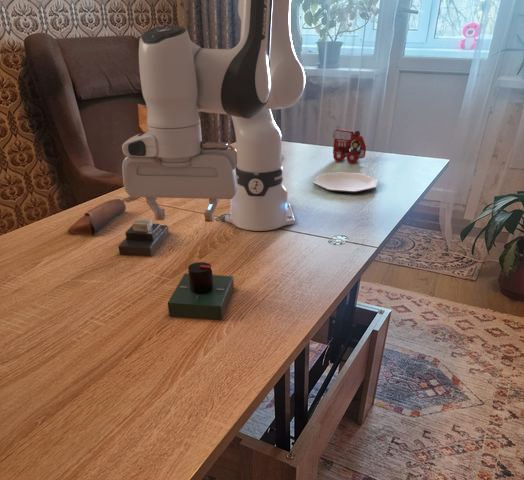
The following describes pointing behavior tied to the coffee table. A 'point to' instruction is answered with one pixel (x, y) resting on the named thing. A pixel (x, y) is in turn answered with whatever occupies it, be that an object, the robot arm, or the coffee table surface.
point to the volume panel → (201, 299)
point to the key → (142, 225)
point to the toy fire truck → (348, 146)
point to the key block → (143, 241)
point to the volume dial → (200, 277)
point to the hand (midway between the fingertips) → (185, 220)
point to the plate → (345, 182)
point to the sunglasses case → (97, 218)
